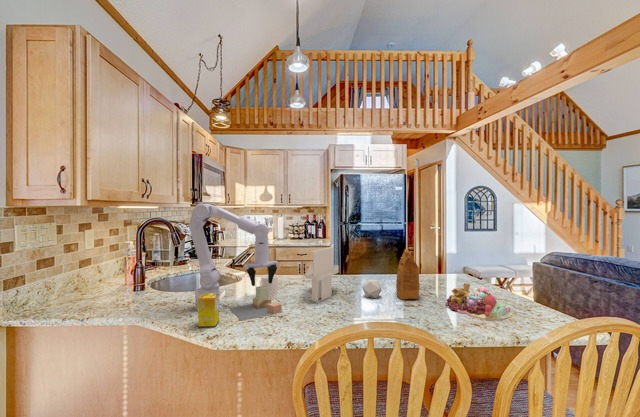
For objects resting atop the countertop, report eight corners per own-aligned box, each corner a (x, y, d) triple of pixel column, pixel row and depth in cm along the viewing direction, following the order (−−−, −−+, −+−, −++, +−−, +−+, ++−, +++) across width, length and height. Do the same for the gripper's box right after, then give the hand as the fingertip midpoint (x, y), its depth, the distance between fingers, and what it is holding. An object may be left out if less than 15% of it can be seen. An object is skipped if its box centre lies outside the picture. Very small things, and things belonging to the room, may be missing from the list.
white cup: (269, 301, 141) (269, 279, 141) (257, 298, 146) (257, 276, 145) (281, 297, 147) (281, 275, 147) (270, 294, 152) (270, 273, 152)
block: (273, 314, 124) (273, 306, 123) (267, 311, 126) (267, 304, 126) (281, 311, 126) (281, 304, 126) (275, 309, 129) (275, 301, 129)
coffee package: (415, 293, 153) (415, 248, 153) (421, 301, 141) (421, 252, 140) (394, 292, 154) (394, 248, 154) (398, 300, 142) (398, 252, 141)
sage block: (259, 300, 131) (259, 288, 130) (255, 298, 134) (255, 286, 134) (268, 299, 133) (268, 287, 133) (264, 296, 136) (264, 285, 136)
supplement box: (203, 322, 116) (202, 293, 116) (219, 321, 116) (219, 292, 116) (197, 328, 110) (197, 297, 110) (215, 328, 110) (215, 297, 110)
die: (383, 296, 149) (374, 278, 154) (385, 292, 142) (376, 273, 146) (368, 303, 148) (359, 285, 153) (369, 299, 141) (360, 280, 145)
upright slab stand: (303, 287, 164) (302, 243, 164) (343, 288, 162) (343, 243, 162) (294, 304, 136) (294, 251, 136) (343, 306, 135) (343, 251, 134)
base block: (257, 309, 129) (257, 301, 129) (252, 305, 134) (252, 298, 134) (271, 306, 133) (271, 299, 133) (265, 302, 138) (265, 295, 138)
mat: (241, 321, 116) (241, 320, 116) (228, 308, 131) (228, 307, 131) (282, 312, 126) (282, 312, 126) (266, 301, 140) (266, 301, 140)
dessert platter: (435, 307, 133) (435, 286, 133) (461, 297, 148) (461, 277, 148) (499, 325, 114) (499, 300, 114) (521, 310, 129) (521, 288, 129)
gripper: (248, 255, 126) (248, 288, 126) (281, 252, 134) (281, 283, 134) (242, 252, 132) (242, 284, 132) (274, 250, 140) (274, 280, 140)
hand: (261, 284), depth 133 cm, fingers open, 7 cm apart
